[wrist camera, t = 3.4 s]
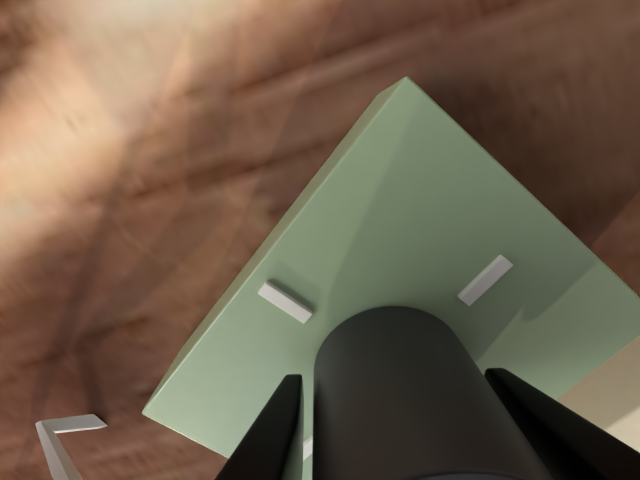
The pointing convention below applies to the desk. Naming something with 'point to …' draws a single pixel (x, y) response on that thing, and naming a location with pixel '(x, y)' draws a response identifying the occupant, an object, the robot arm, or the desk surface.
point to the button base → (611, 396)
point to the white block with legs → (56, 456)
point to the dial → (410, 406)
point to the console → (399, 275)
